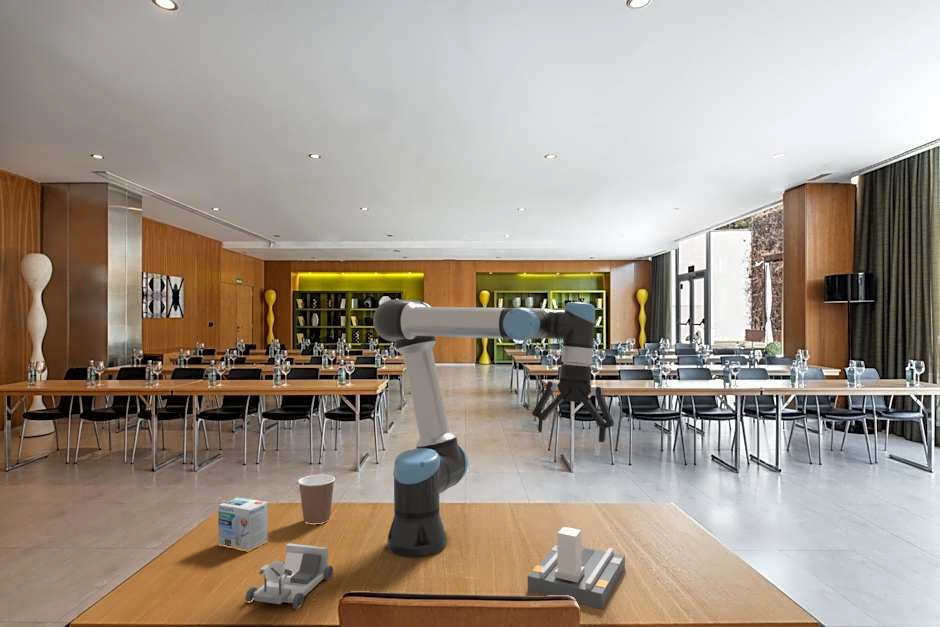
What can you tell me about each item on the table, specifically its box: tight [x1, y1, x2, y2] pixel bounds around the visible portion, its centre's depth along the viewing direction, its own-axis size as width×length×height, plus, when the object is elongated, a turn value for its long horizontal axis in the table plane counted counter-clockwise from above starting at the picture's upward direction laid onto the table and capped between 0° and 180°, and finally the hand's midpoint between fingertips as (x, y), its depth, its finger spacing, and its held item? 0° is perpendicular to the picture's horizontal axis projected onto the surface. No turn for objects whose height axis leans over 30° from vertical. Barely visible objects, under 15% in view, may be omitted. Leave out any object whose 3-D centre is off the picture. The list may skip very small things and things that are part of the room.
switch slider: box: [554, 526, 585, 583], centre depth 114 cm, size 5×5×9 cm
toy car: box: [245, 543, 334, 610], centre depth 114 cm, size 18×10×12 cm
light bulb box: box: [217, 497, 269, 550], centre depth 139 cm, size 11×7×11 cm, turn 68°
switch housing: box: [527, 544, 626, 610], centre depth 119 cm, size 16×20×4 cm
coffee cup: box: [297, 474, 336, 523], centre depth 155 cm, size 10×10×12 cm
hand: (569, 450), depth 132 cm, fingers open, 13 cm apart
